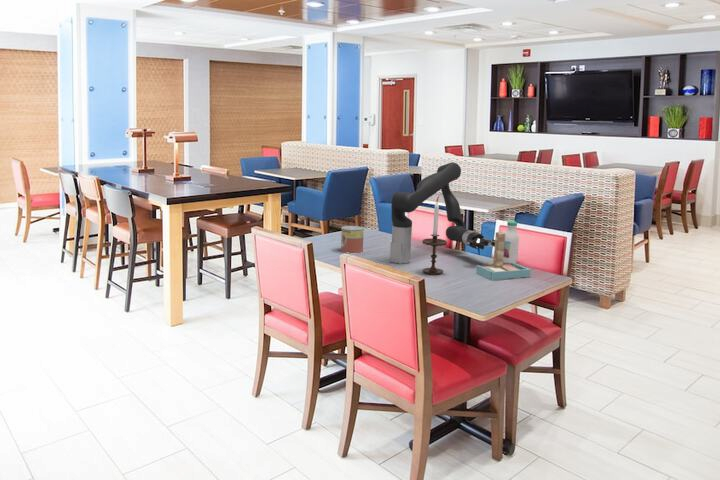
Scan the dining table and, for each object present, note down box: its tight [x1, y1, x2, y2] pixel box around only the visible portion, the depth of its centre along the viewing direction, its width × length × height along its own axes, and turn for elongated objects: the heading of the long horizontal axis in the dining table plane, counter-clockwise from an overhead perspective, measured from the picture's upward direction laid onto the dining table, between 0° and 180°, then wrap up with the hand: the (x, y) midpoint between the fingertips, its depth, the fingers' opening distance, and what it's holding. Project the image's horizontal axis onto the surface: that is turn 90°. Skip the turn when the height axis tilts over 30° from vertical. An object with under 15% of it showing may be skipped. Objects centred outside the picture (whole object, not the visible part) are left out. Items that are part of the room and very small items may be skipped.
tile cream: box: [489, 268, 505, 272], centre depth 286 cm, size 6×6×3 cm
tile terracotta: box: [502, 266, 519, 271], centre depth 289 cm, size 6×6×3 cm
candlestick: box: [421, 195, 448, 276], centre depth 285 cm, size 11×11×35 cm
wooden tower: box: [484, 231, 512, 270], centre depth 290 cm, size 3×14×18 cm, turn 112°
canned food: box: [340, 225, 365, 255], centre depth 323 cm, size 11×11×12 cm
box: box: [476, 263, 532, 281], centre depth 287 cm, size 12×20×4 cm, turn 112°
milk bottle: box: [503, 220, 520, 264], centre depth 310 cm, size 8×8×20 cm
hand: (491, 246), depth 295 cm, fingers open, 8 cm apart
